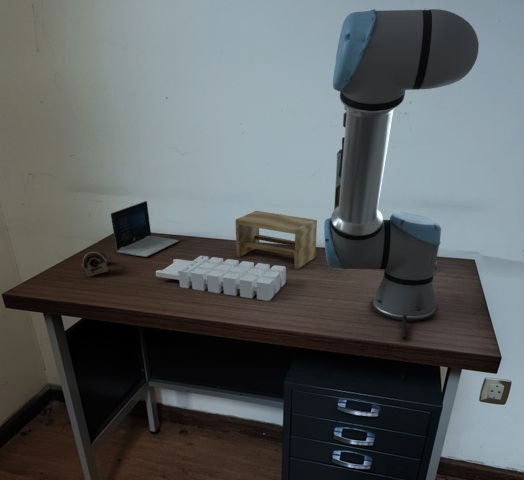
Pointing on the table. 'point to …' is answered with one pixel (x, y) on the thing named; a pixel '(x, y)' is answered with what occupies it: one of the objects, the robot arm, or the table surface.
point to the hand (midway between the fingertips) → (351, 198)
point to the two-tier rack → (289, 224)
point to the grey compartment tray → (227, 276)
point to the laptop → (136, 232)
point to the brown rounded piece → (95, 263)
